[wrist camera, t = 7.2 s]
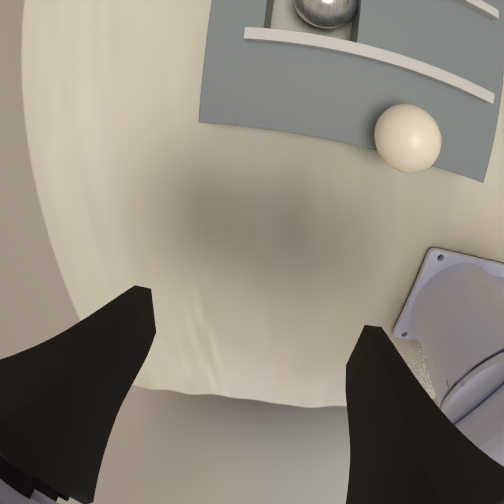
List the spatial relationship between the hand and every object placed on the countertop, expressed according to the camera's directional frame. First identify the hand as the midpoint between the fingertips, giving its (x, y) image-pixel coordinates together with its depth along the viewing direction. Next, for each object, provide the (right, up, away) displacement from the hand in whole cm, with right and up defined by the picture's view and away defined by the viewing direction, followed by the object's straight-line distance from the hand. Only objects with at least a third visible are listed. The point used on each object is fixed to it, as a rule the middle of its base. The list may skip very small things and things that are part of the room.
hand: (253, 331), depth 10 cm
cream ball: (+7, +8, +2) cm, 11 cm away
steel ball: (+4, +15, +1) cm, 16 cm away
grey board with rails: (+6, +16, +2) cm, 17 cm away
